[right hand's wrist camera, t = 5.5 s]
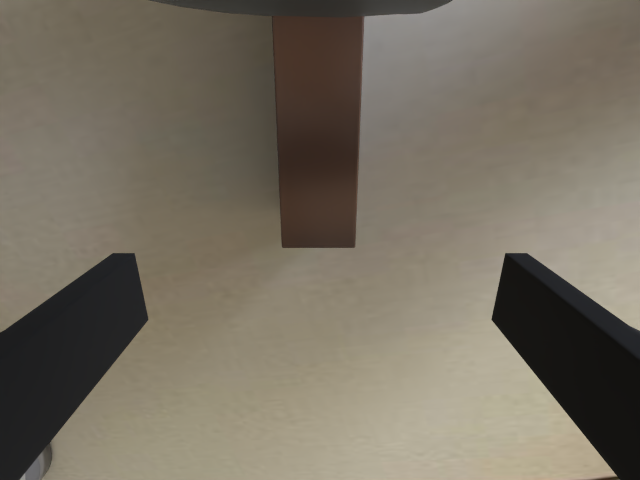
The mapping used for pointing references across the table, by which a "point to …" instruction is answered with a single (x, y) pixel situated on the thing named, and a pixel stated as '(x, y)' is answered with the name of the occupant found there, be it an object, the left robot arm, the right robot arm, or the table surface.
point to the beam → (318, 127)
